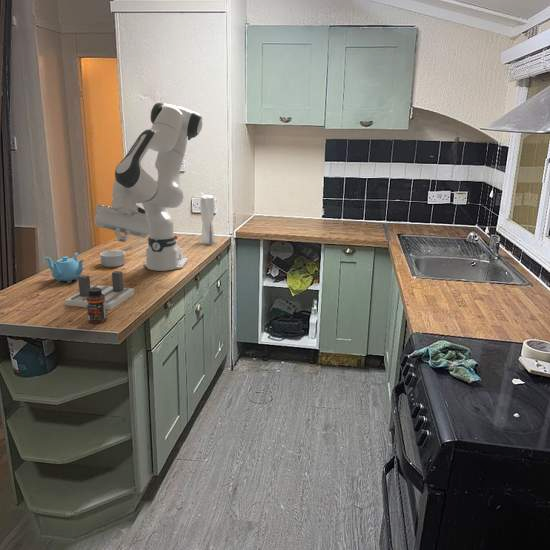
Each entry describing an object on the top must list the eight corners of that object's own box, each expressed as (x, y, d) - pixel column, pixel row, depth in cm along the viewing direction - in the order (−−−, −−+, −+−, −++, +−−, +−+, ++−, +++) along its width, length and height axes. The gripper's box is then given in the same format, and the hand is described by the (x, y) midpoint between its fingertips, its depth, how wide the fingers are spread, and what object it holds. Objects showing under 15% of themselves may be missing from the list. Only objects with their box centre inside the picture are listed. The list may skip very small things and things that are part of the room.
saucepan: (141, 258, 244) (141, 247, 243) (115, 269, 226) (114, 257, 225) (122, 256, 248) (121, 245, 247) (94, 266, 230) (93, 254, 229)
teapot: (86, 282, 208) (84, 258, 205) (52, 287, 202) (50, 262, 199) (79, 274, 219) (77, 251, 216) (47, 278, 212) (44, 255, 209)
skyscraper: (197, 244, 274) (196, 193, 266) (203, 241, 282) (202, 191, 273) (211, 245, 272) (210, 194, 264) (217, 242, 279) (217, 192, 271)
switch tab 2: (116, 289, 194) (115, 270, 192) (123, 290, 193) (122, 271, 191) (113, 291, 192) (111, 272, 189) (120, 292, 191) (118, 273, 189)
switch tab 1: (83, 294, 188) (81, 275, 186) (91, 294, 188) (89, 275, 185) (79, 296, 186) (77, 276, 184) (87, 296, 185) (85, 277, 183)
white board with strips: (93, 289, 200) (92, 283, 199) (134, 293, 196) (134, 287, 195) (65, 305, 183) (64, 298, 182) (110, 309, 179) (109, 303, 178)
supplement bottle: (87, 324, 166) (84, 292, 163) (88, 318, 172) (85, 286, 168) (106, 323, 168) (103, 291, 164) (107, 316, 173) (104, 285, 170)
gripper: (98, 198, 184) (95, 229, 177) (151, 212, 194) (151, 242, 188) (93, 208, 188) (90, 238, 181) (146, 221, 199) (145, 250, 192)
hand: (122, 240), depth 185 cm, fingers closed
